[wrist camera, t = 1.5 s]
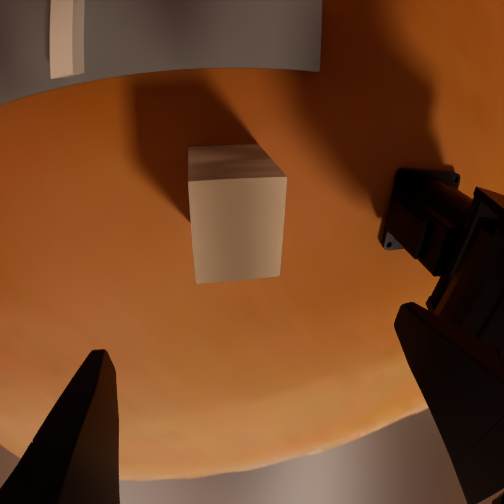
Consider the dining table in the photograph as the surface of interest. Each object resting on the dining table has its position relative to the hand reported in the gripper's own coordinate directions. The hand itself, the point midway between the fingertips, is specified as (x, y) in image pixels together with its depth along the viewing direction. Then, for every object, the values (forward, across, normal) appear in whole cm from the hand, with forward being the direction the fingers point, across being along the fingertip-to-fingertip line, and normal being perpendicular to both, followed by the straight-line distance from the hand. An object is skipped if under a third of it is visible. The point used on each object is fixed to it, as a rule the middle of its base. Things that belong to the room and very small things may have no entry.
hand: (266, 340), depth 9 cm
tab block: (+12, 0, 0) cm, 12 cm away
